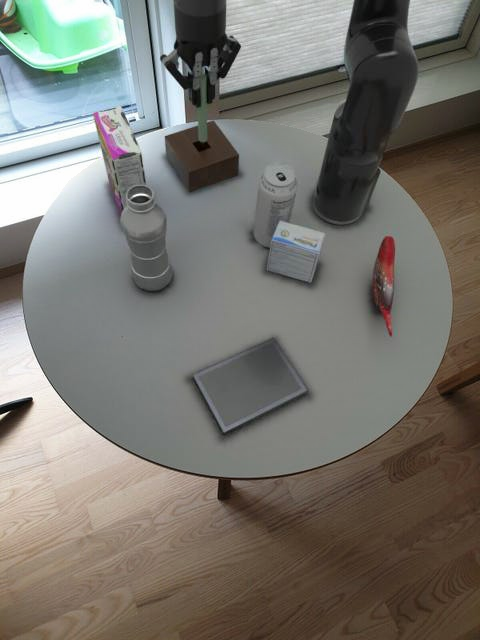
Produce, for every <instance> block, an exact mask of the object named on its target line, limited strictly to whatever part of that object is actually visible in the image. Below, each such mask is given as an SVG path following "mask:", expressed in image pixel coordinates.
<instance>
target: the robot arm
mask: <svg viewBox="0 0 480 640" xmlns="http://www.w3.org/2000/svg"><path fill="white" fill-rule="evenodd" d="M172 2H173V16H174V30H175V41H174V43H173V50H172V51H171V52H170V53H168V55H167V54H165V53H164V54H163V53H162V55H160V57H159V61H160V62H161V63H162V65H163V66H164V68H165V69H166V70H167V71H168V73H169V75H171V77H172V78H173V79H174V81H176V82H177V84H179V86H180V87H181V88H182V90H184V91H185V90H188V93H187V94H188V100H189V101H190V103H191V104H192V106H194V107H195V108H196V109H198V107H201V89H200V77H201V74H205V75H206V81H207V105H211V104H213V103H214V100H215V99H216V84H217V82H218V80H219V79H222V80H223V79H225V78H226V77H227V75H228V73H229V72H230V70H231V67H232V66H233V65H234V62H235V60H236V58H237V56H238V54H239V52H240V51H241V49H242V45H241V44H240V42H239V40H238V39H236V37H235V36H233V35H229V36H228V34H227V33H226V30H227V0H172ZM410 5H411V0H353V3H352V7H351V13H350V16H349V22H348V26H347V30H346V35H345V41H344V47H343V63H344V67H345V71H346V74H347V79H348V83H349V86H348V90H347V94H346V99H345V101H344V102H342V103H341V104H339V105H338V107H337V108H336V110H335V111H334V114H333V118H332V122H331V126H330V129H329V135H328V138H327V142H326V148H325V151H324V156H323V159H322V164H321V167H320V172H319V175H318V178H317V182H316V184H315V190H314V195H313V197H312V208H313V211H314V212H315V214H316V215H317V216H318V217H319V218H320V219H322V220H323V221H325V222H326V223H329V224H332V225H337V226H347V225H350V224H353V223H355V222H356V221H358V220H359V219H360V218H361V217H362V215H363V212H364V211H365V210H368V207H369V204H370V202H371V199H372V197H373V195H374V191H375V189H376V186H377V183H378V181H379V178H380V175H381V168H380V164H381V161H382V159H383V156H384V154H385V151H386V148H387V145H388V142H389V140H390V137H391V135H392V134H393V133H394V132H395V131H396V130H397V129H398V127H399V125H400V124H401V122H402V119H403V118H404V115H405V113H406V111H407V109H408V106H409V104H410V102H411V99H412V96H413V94H414V92H415V89H416V86H417V83H418V79H419V73H420V65H419V61H418V57H417V55H416V52H415V49H414V47H413V44H412V41H411V39H410V36H409V30H408V26H409V25H408V23H409V11H410ZM179 58H180V59H181V60H182V61H183V62H184V66H185V71H186V75H183V74H182V72H181V71H180V70H179V68H180V62H179ZM202 68H203V71H202Z"/></svg>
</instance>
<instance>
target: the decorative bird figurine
mask: <svg viewBox="0 0 480 640" xmlns="http://www.w3.org/2000/svg"><path fill="white" fill-rule="evenodd" d="M395 259H396V243H395V239H394V237H393V236H390V235H385V236H384V237H383V239H382V241H381V243H380V245H379V248H378V252H377V255H376V258H375V261H374V265H373V271H372V284H371V285H372V296H373V301H374V303H375V306H376V308H375V309H376V310H377V312H378V313H379V314H380V315H381V316H382V317H383V319H384V322H385V325H386V329H387V332H388V335H389V336H390V338H392V337H393V329H392V328H393V327H392V320H391V311H392V308H393V302H394V293H395Z"/></svg>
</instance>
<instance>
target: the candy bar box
mask: <svg viewBox="0 0 480 640" xmlns="http://www.w3.org/2000/svg"><path fill="white" fill-rule="evenodd" d="M92 116H93V120H94V124H95V129H96V133H97V138H98V142H99V145H100V150H101V155H102V158H103V159H102V160H103V164H104V166H105V172H106V175H107V180H108V185H109V188H110V190H111V192H112V195H113V198H114V200H115V203H116V206H117V208H118V210H119V213H120V215H121V214H122V211H123V210H124V208H125V207H126V206H127V204H126V200H127V199H126V193H127V191H128V189H129V188H131V187H133V186H135V185H145V186H147V181H146V174H145V168H144V162H143V155H142V154H143V153H142V150H141V148H140V144H139V143H138V140H137V138H136V136H135V133H134V131H133V129H132V127H131V125H130V123H129V120H128V118H127V116H126V114H125V111H124V110H123V107H122V106H117V107H113V108H107V109H104V110H97V111H94V112H92Z"/></svg>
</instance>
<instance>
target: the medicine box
mask: <svg viewBox="0 0 480 640" xmlns="http://www.w3.org/2000/svg"><path fill="white" fill-rule="evenodd" d="M325 237H326V232H322V231H318V230H315V229H311V228H308V227H305V226H301V225H298V224H294V223H291V222H290V223H287V222H284V221H280V220H279V221H278V224H277V227H276V229H275V231H274V234H273V236H272V239H271V246H270V248H269V252H268V259H267V266H266V271H268V272H271V273H274V274H278V275H281V276H286V277H289V278H291V279H295V280H299V281H302V282H307V283H309V284H311V283H312V281H313V279H314V275H315V272H316V269H317V266H318V264H319V263H318V262H319V259H320V255H321V252H322V248H323V245H324V242H325Z"/></svg>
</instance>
